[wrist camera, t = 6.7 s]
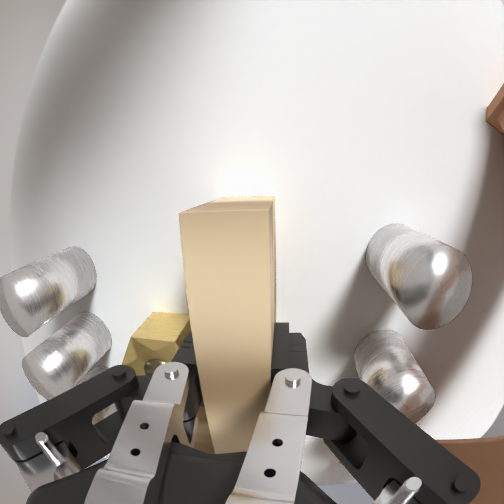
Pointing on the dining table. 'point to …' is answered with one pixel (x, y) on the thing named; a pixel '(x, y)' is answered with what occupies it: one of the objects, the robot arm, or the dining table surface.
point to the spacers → (365, 356)
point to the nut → (156, 341)
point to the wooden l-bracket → (231, 314)
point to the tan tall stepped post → (492, 448)
